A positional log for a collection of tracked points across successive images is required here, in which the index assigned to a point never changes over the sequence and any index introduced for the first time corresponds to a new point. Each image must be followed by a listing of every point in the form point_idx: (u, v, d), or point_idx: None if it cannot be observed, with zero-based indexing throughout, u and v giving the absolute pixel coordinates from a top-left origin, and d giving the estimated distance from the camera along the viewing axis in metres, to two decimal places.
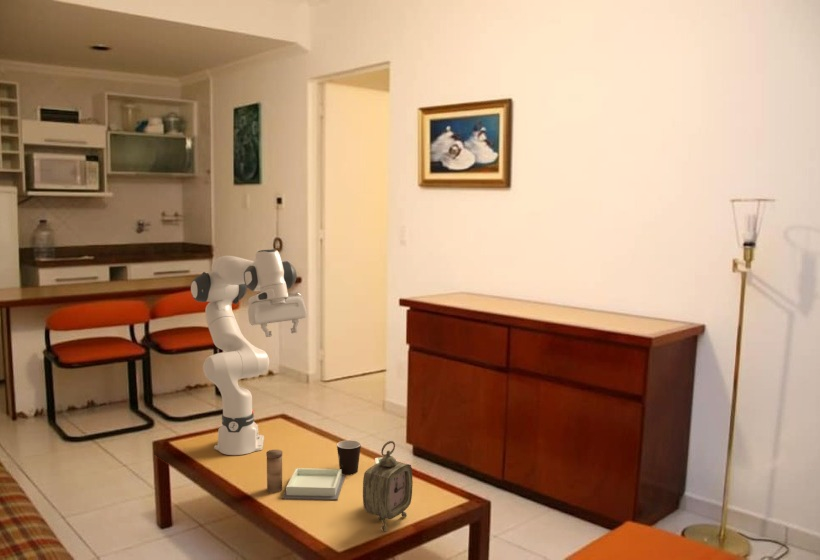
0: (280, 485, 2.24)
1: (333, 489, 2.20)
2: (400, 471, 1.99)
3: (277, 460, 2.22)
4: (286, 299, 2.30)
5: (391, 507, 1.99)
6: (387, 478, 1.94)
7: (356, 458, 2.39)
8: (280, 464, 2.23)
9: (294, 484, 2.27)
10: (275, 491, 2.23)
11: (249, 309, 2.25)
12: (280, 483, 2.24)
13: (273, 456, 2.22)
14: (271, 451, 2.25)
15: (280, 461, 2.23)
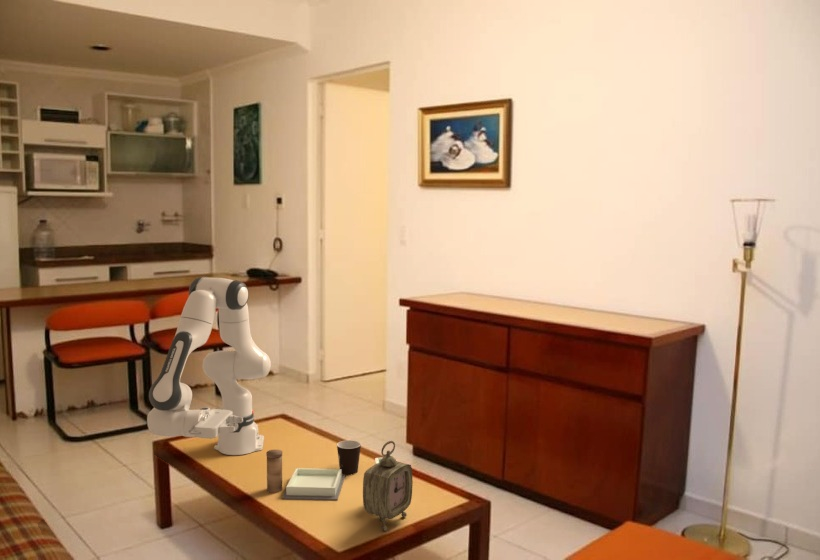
0: (280, 485, 2.24)
1: (333, 489, 2.20)
2: (400, 471, 1.99)
3: (277, 460, 2.22)
4: None
5: (391, 507, 1.99)
6: (387, 478, 1.94)
7: (356, 458, 2.39)
8: (280, 464, 2.23)
9: (294, 484, 2.27)
10: (275, 491, 2.23)
11: None
12: (280, 483, 2.24)
13: (273, 456, 2.22)
14: (271, 451, 2.25)
15: (280, 461, 2.23)
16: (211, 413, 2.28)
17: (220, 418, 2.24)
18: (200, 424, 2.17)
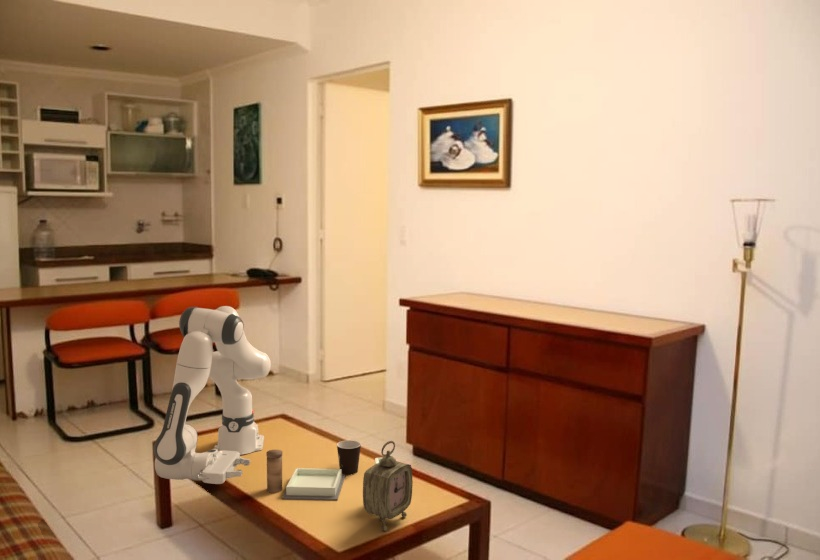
0: (280, 485, 2.24)
1: (333, 489, 2.20)
2: (400, 471, 1.99)
3: (277, 460, 2.22)
4: None
5: (391, 507, 1.99)
6: (387, 478, 1.94)
7: (356, 458, 2.39)
8: (280, 464, 2.23)
9: (294, 484, 2.27)
10: (275, 491, 2.23)
11: None
12: (280, 483, 2.24)
13: (273, 456, 2.22)
14: (271, 451, 2.25)
15: (280, 461, 2.23)
16: (218, 455, 2.30)
17: (227, 461, 2.26)
18: (208, 469, 2.19)
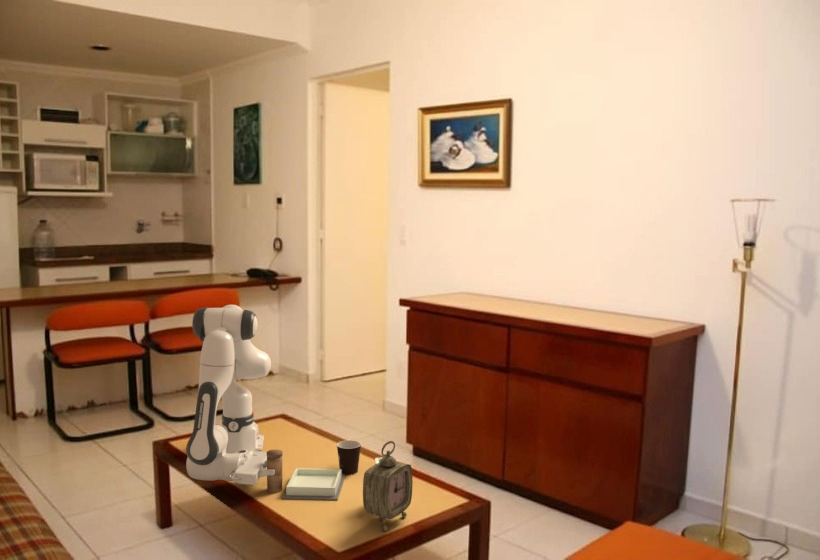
0: (280, 485, 2.24)
1: (333, 489, 2.20)
2: (400, 471, 1.99)
3: (277, 460, 2.22)
4: None
5: (391, 507, 1.99)
6: (387, 478, 1.94)
7: (356, 458, 2.39)
8: (280, 464, 2.23)
9: (294, 484, 2.27)
10: (275, 491, 2.23)
11: None
12: (280, 483, 2.24)
13: (273, 456, 2.22)
14: (271, 451, 2.25)
15: (280, 461, 2.23)
16: (249, 456, 2.29)
17: (259, 461, 2.25)
18: (240, 469, 2.18)
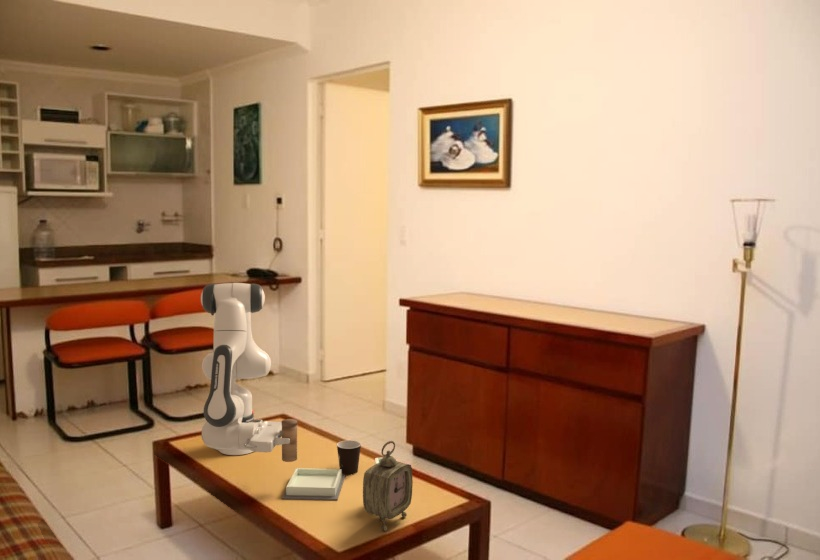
0: (295, 454, 2.24)
1: (333, 489, 2.20)
2: (400, 471, 1.99)
3: (292, 429, 2.22)
4: None
5: (391, 507, 1.99)
6: (387, 478, 1.94)
7: (356, 458, 2.39)
8: (295, 433, 2.23)
9: (294, 484, 2.27)
10: (290, 459, 2.23)
11: None
12: (295, 452, 2.24)
13: (288, 425, 2.21)
14: (286, 420, 2.24)
15: (295, 430, 2.23)
16: (264, 426, 2.29)
17: (274, 430, 2.25)
18: (255, 438, 2.18)
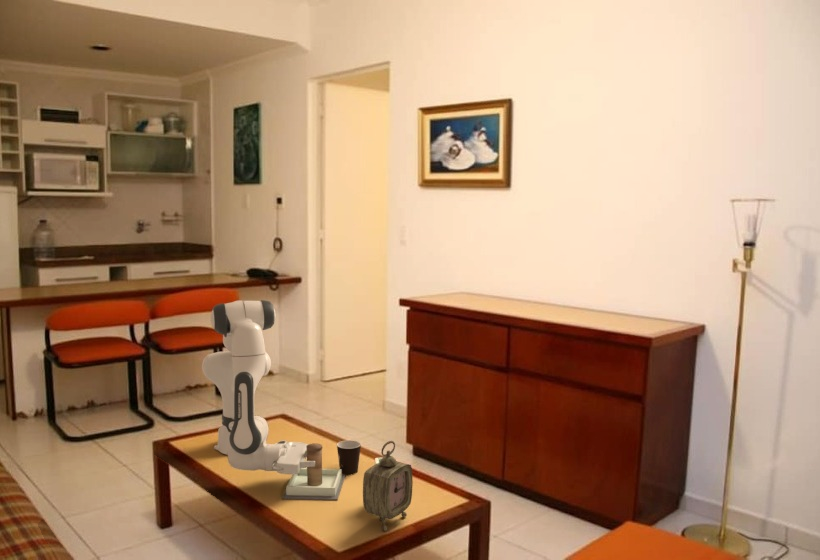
0: (320, 478, 2.27)
1: (333, 489, 2.20)
2: (400, 471, 1.99)
3: (317, 453, 2.25)
4: None
5: (391, 507, 1.99)
6: (387, 478, 1.94)
7: (356, 458, 2.39)
8: (320, 457, 2.26)
9: (294, 484, 2.27)
10: (315, 484, 2.25)
11: None
12: (320, 476, 2.26)
13: (313, 449, 2.24)
14: (311, 445, 2.27)
15: (320, 454, 2.26)
16: (289, 447, 2.32)
17: (299, 452, 2.28)
18: (282, 460, 2.20)
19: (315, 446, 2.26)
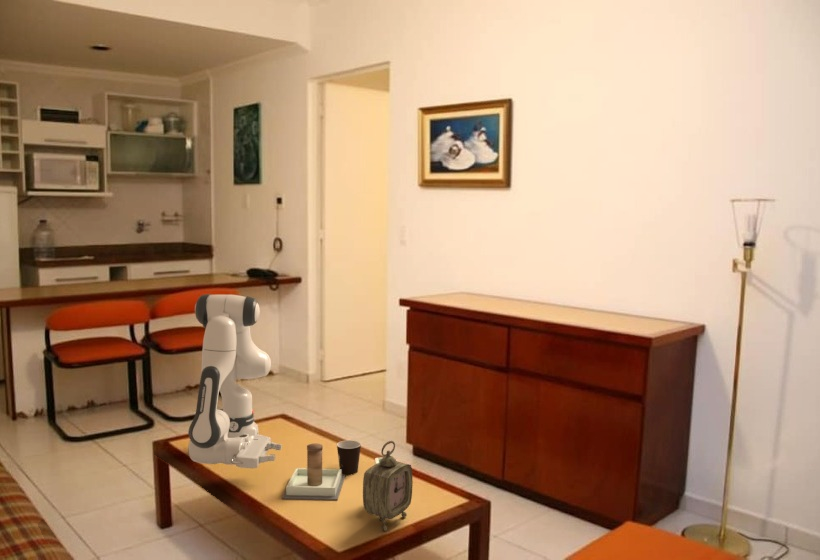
0: (320, 478, 2.27)
1: (333, 489, 2.20)
2: (400, 471, 1.99)
3: (318, 454, 2.25)
4: None
5: (391, 507, 1.99)
6: (387, 478, 1.94)
7: (356, 458, 2.39)
8: (320, 458, 2.26)
9: (294, 484, 2.27)
10: (315, 484, 2.25)
11: None
12: (320, 476, 2.26)
13: (314, 450, 2.24)
14: (311, 445, 2.27)
15: (320, 455, 2.26)
16: (250, 440, 2.33)
17: (260, 445, 2.29)
18: (241, 453, 2.21)
19: (315, 446, 2.26)
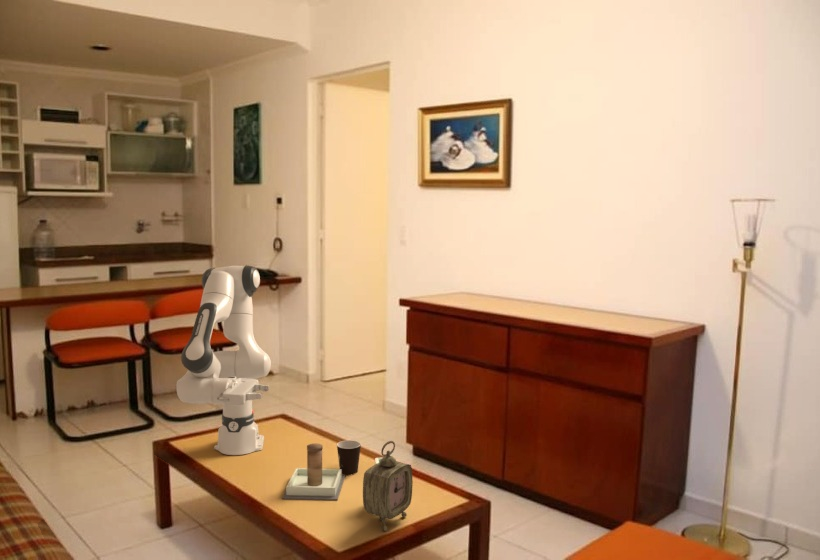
0: (320, 478, 2.26)
1: (333, 489, 2.20)
2: (400, 471, 1.99)
3: (318, 454, 2.25)
4: None
5: (391, 507, 1.99)
6: (387, 478, 1.94)
7: (356, 458, 2.39)
8: (320, 458, 2.26)
9: (294, 484, 2.27)
10: (315, 484, 2.25)
11: None
12: (320, 476, 2.26)
13: (314, 450, 2.24)
14: (311, 445, 2.27)
15: (320, 455, 2.26)
16: (238, 382, 2.32)
17: (247, 386, 2.28)
18: (228, 391, 2.21)
19: (315, 446, 2.26)
